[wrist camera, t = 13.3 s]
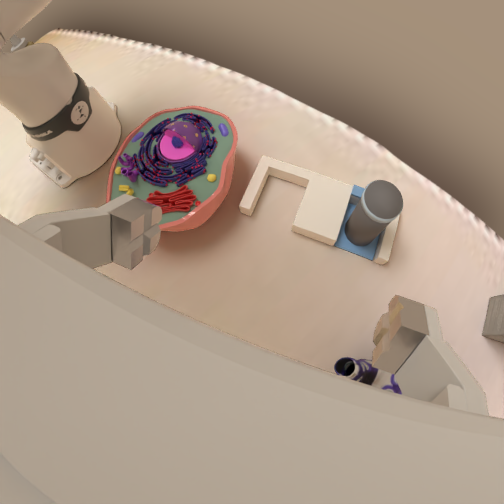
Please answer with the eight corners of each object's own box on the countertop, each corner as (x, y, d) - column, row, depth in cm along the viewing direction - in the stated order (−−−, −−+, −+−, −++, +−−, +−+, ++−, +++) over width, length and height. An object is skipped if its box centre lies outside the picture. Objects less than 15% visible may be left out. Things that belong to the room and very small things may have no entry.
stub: (339, 239, 42) (358, 209, 31) (349, 210, 43) (369, 173, 32) (370, 252, 41) (398, 225, 31) (379, 222, 42) (407, 189, 32)
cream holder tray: (240, 212, 44) (238, 204, 42) (263, 163, 46) (262, 153, 43) (382, 265, 41) (389, 260, 38) (396, 211, 43) (402, 204, 40)
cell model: (107, 214, 46) (69, 183, 35) (185, 122, 49) (166, 76, 39) (185, 276, 43) (156, 255, 32) (269, 166, 46) (266, 119, 35)
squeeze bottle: (56, 62, 60) (26, 19, 43) (55, 77, 58) (21, 32, 41) (33, 77, 60) (1, 38, 43) (31, 94, 58) (-5, 52, 41)
